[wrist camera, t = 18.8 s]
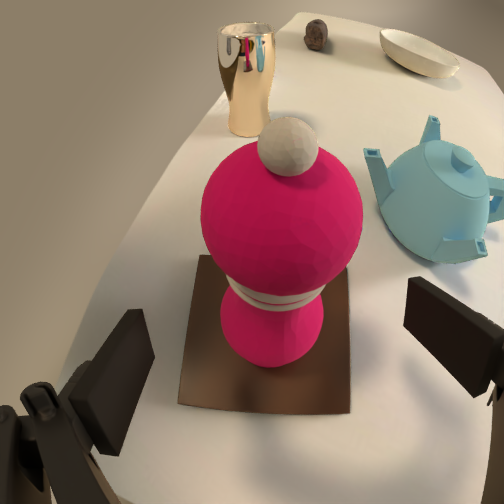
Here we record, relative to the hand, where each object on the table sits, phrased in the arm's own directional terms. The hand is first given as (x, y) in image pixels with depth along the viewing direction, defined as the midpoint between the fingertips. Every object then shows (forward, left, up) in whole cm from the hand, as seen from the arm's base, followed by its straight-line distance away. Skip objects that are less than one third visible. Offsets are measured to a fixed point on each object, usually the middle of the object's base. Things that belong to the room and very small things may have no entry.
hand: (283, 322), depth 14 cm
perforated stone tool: (+9, +70, -12) cm, 71 cm away
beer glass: (-4, +32, -12) cm, 34 cm away
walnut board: (0, +3, -12) cm, 13 cm away
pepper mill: (0, +3, -11) cm, 12 cm away
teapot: (+18, +17, -12) cm, 27 cm away
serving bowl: (+34, +66, -12) cm, 75 cm away
